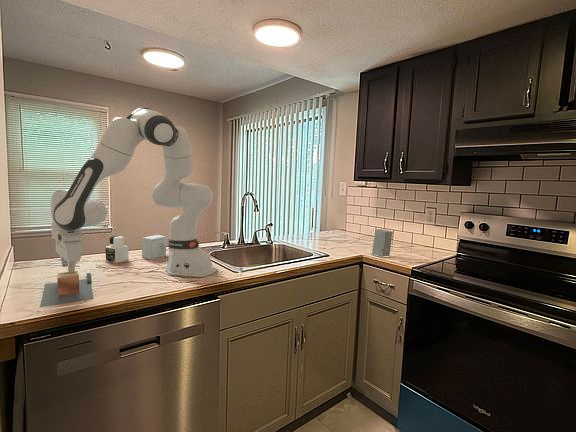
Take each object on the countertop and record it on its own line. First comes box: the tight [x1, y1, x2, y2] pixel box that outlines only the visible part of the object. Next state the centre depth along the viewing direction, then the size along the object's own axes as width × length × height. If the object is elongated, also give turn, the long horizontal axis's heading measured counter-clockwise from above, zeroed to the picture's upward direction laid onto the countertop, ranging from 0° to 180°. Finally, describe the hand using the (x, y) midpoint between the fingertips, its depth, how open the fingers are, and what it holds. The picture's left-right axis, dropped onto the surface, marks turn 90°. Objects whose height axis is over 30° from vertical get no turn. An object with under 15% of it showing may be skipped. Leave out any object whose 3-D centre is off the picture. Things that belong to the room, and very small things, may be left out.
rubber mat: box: [39, 278, 95, 308], centre depth 109 cm, size 24×14×1 cm, turn 35°
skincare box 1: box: [141, 234, 167, 260], centre depth 161 cm, size 10×6×10 cm, turn 156°
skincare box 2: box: [371, 228, 394, 258], centre depth 184 cm, size 8×7×16 cm
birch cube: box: [56, 270, 80, 295], centre depth 108 cm, size 6×6×6 cm
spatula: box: [79, 262, 97, 283], centre depth 129 cm, size 6×29×2 cm, turn 34°
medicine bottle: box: [105, 235, 129, 264], centre depth 150 cm, size 7×7×12 cm
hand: (68, 269), depth 117 cm, fingers open, 8 cm apart
